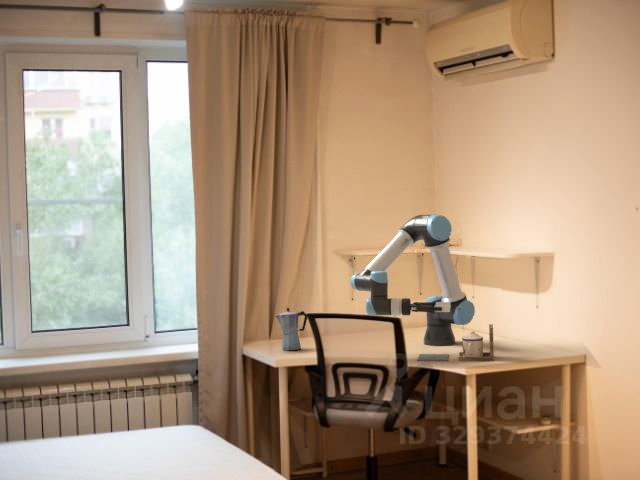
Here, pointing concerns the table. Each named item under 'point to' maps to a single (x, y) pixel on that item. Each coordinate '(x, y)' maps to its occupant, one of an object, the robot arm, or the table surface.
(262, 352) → the table surface
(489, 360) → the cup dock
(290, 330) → the moka pot
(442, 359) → the slate mat
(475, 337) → the teacup with lid
